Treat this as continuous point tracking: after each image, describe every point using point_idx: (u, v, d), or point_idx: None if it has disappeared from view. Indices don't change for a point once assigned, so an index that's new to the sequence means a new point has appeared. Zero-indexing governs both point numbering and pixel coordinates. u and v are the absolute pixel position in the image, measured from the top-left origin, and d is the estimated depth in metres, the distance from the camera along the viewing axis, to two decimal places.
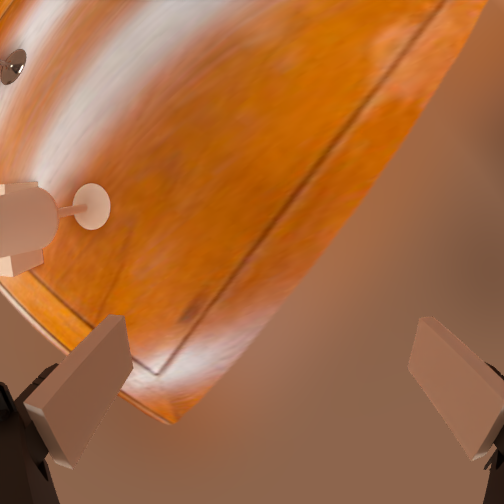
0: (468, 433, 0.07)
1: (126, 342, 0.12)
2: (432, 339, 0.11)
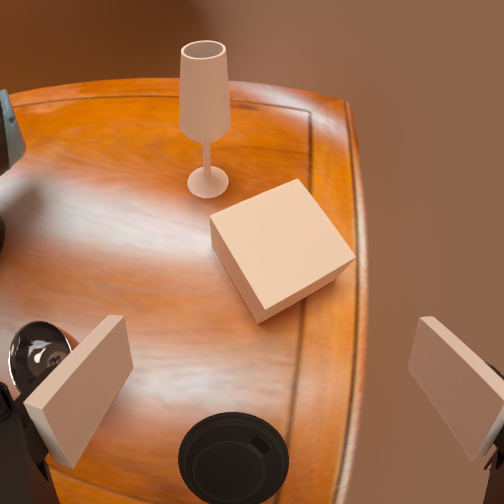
0: (468, 433, 0.07)
1: (126, 342, 0.12)
2: (433, 339, 0.11)
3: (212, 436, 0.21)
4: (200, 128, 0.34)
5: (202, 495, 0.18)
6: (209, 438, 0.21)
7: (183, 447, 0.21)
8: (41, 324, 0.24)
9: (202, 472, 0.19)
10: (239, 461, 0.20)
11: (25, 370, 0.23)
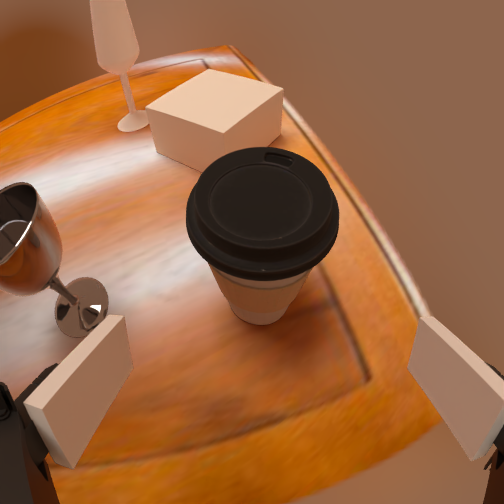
0: (468, 433, 0.07)
1: (126, 342, 0.12)
2: (433, 339, 0.11)
3: (217, 169, 0.18)
4: (117, 51, 0.33)
5: (243, 242, 0.15)
6: (214, 172, 0.18)
7: (189, 210, 0.18)
8: (1, 203, 0.19)
9: (226, 213, 0.16)
10: (265, 182, 0.18)
11: None
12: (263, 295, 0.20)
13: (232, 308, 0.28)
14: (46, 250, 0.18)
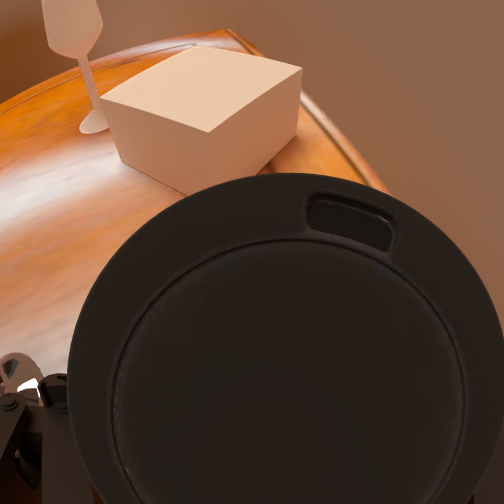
0: None
1: None
2: None
3: (145, 261, 0.05)
4: (69, 26, 0.20)
5: None
6: (136, 275, 0.05)
7: None
8: None
9: (173, 468, 0.03)
10: (317, 323, 0.05)
11: None
12: None
13: None
14: None
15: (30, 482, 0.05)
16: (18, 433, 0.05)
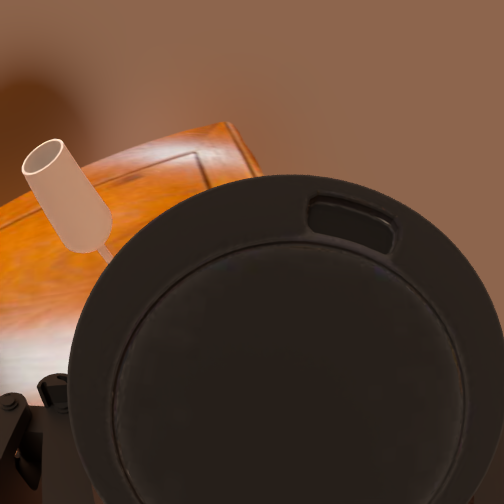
0: None
1: None
2: None
3: (145, 263, 0.05)
4: (81, 239, 0.28)
5: None
6: (136, 277, 0.05)
7: None
8: None
9: (173, 471, 0.03)
10: (318, 326, 0.05)
11: None
12: None
13: None
14: None
15: (30, 482, 0.05)
16: (18, 433, 0.05)
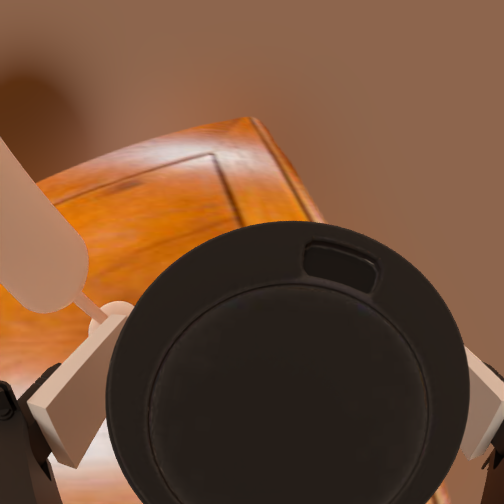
0: (465, 432, 0.07)
1: None
2: None
3: (170, 302, 0.06)
4: (36, 297, 0.15)
5: None
6: (163, 314, 0.06)
7: None
8: None
9: (198, 466, 0.05)
10: (309, 353, 0.06)
11: None
12: None
13: None
14: None
15: None
16: None
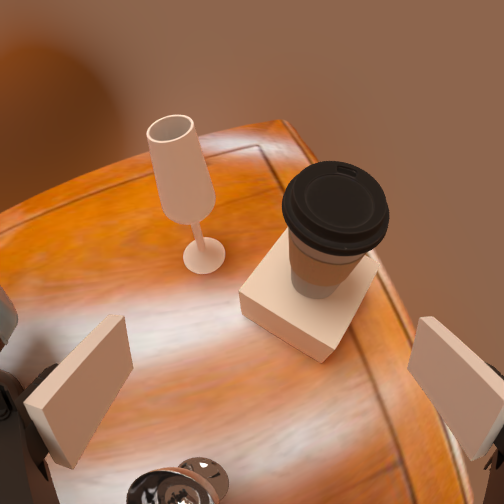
0: (468, 433, 0.07)
1: (126, 342, 0.12)
2: (433, 339, 0.11)
3: (306, 176, 0.25)
4: (192, 210, 0.34)
5: (334, 228, 0.22)
6: (304, 179, 0.25)
7: (287, 206, 0.25)
8: (146, 474, 0.20)
9: (319, 209, 0.23)
10: (340, 188, 0.24)
11: None
12: (334, 269, 0.27)
13: (296, 285, 0.34)
14: None
15: None
16: None
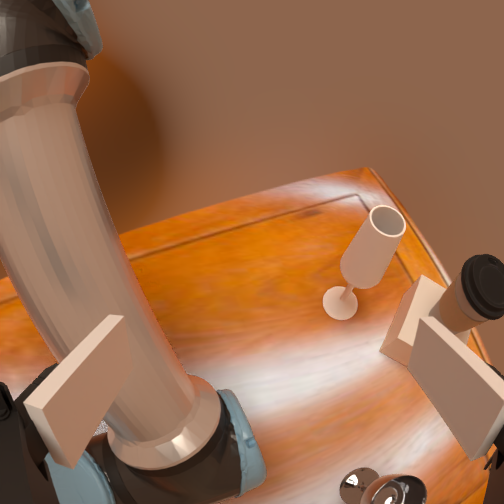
0: (468, 433, 0.07)
1: (126, 342, 0.12)
2: (432, 340, 0.11)
3: (477, 268, 0.31)
4: (377, 279, 0.40)
5: (497, 305, 0.28)
6: (477, 270, 0.31)
7: (469, 289, 0.31)
8: (377, 486, 0.26)
9: (487, 292, 0.29)
10: (493, 275, 0.30)
11: None
12: (478, 324, 0.33)
13: None
14: None
15: None
16: None
